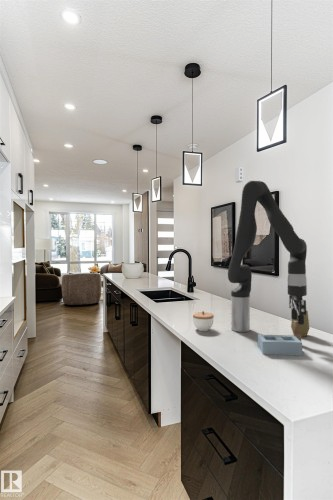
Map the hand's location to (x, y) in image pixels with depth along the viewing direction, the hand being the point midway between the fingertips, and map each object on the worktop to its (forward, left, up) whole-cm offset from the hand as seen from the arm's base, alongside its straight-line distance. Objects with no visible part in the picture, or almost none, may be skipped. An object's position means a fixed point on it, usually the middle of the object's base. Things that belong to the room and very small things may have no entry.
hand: (297, 321), depth 125 cm
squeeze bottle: (-15, +6, -10) cm, 19 cm away
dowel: (-1, 0, -10) cm, 10 cm away
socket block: (+7, -10, -10) cm, 16 cm away
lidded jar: (-21, -40, -10) cm, 46 cm away
